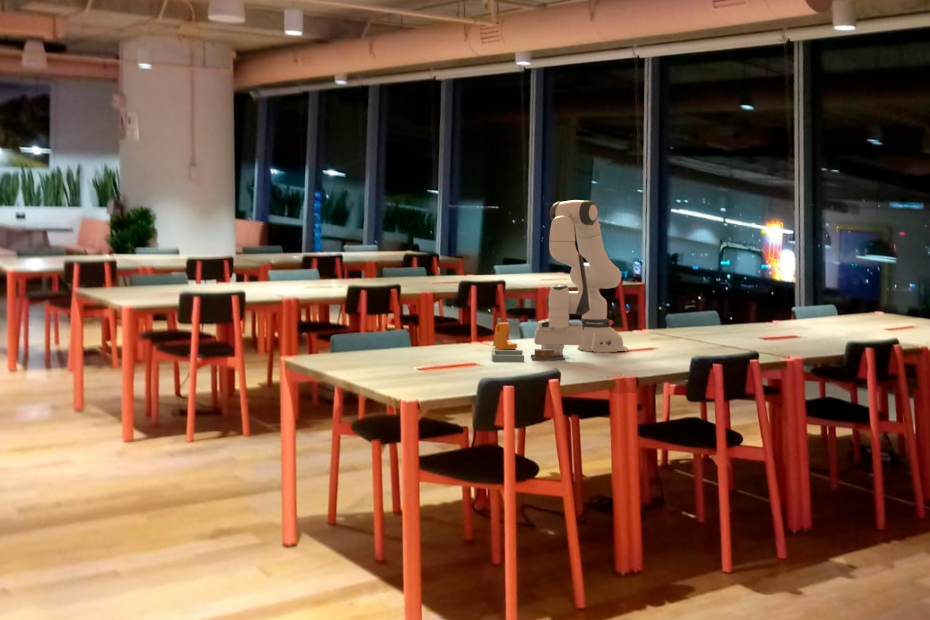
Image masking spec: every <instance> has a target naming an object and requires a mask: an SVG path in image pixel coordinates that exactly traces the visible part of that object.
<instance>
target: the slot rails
mask: <svg viewBox="0 0 930 620" xmlns="http://www.w3.org/2000/svg"><path fill="white" fill-rule="evenodd" d="M530 358H531V361H543V362H545V361H550V362H551V361H553V362H555V361H556V360H560V362H561V360H565V361H566V357H565V355H564V354H562V355H554V357H534V354H530Z"/></svg>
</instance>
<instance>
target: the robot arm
mask: <svg viewBox="0 0 930 620" xmlns="http://www.w3.org/2000/svg"><path fill="white" fill-rule="evenodd" d="M549 216H550V220H551V225H550V229H549V241H548V243H549V244H548V246H549V247H548V249H549V253H550V256H551V257H552V258H553V259H554V260H555V261H557V262H559V263H561V264H564V265H566V266H569V267H571V270H570V274H569V277H570V278H569V279H570V280H571V282H572V284H573V285H574V286H575V287H576V288H577V290H576V291H575V290H574V291H573V290H572V291H570V290H569V286H568V285H566V284H564V283H561V284H560V283H557V284H552V285H551V286H550V288H549V292H548V294H547V296H546V309H547V310H548V315H547V318H546V319H545V318H544V319H541V320H539V321H537V327H536V329H535V330H534V331H535V332H534V338H533V342H534V344H535V345H537V346H538V345H539V346H541V345H552V348H553V350H554V355H561V351H562V350H563V351H564V349H565V346H578V347H577V349H578V350H580V351H585V352H586V351H587V352H592V351H593V353H614V352H615V353H616V352H617V351H625V352H628V351H629V348H628V346H626V345H624V340H623V336H622V334H620V333H619V332H618V331H616V330H615V329H614V328H613V327H612V326H613V324H614V321H613V320H611V319H609V318H607V316H608V303H607V299H606V298H604V297H603V296H602V294H601V293H600V291H599V290H600V289H606V290H607V289H612V288H613V289H614V288H616V287H618V286H619V285H620V282H621V281H622V273H621V271H620V268H619V267H618V266H616V265H615V264H614V263H613V262H612V261H611V259H610V258H609V255H608V254H607V252H606V250H605V247H604V246H605V245H604V242H603V236H602V231H601V226H600V223H599V219H598V217H599V209H598V206H597V204H596V203H595V202H594V201H591V200H587V199H586V200H582V199H581V200H579V199H573V200H566V201H562V200H561V201H556V202H555V203H553V204H552V206H551V207H550V210H549ZM576 243H577V246H576ZM577 248H578V250H577ZM584 259H585V260H586V262H584ZM571 314H572V315H580V316H581V319H580V323H579V322H576V323H575V322H570V315H571ZM556 345H560V347H561V349H560V351H556V350H555V348H554V347H556ZM617 353H618V352H617Z"/></svg>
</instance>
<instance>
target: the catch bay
mask: <svg viewBox="0 0 930 620" xmlns="http://www.w3.org/2000/svg"><path fill="white" fill-rule="evenodd" d="M491 359H492V360H491V361H492V362H525V354H523V350H520V349H519V350H518V349H517V350H516V349H508V350H500V349H491Z"/></svg>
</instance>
